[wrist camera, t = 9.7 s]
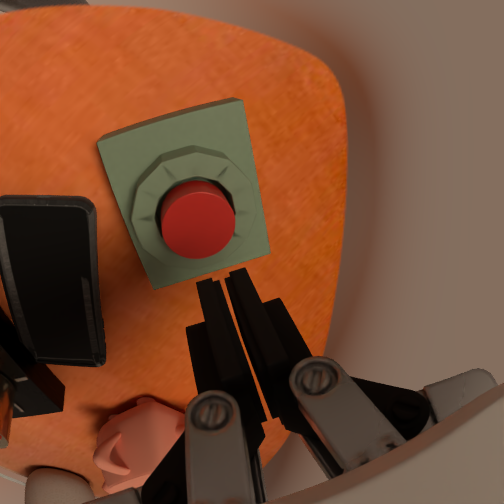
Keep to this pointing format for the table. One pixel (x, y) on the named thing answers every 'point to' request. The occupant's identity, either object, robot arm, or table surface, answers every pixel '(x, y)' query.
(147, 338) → the table surface
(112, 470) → the teapot
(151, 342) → the table surface
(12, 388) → the dial
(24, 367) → the dial panel
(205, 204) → the button
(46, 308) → the phone
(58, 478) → the planter
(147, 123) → the button box
